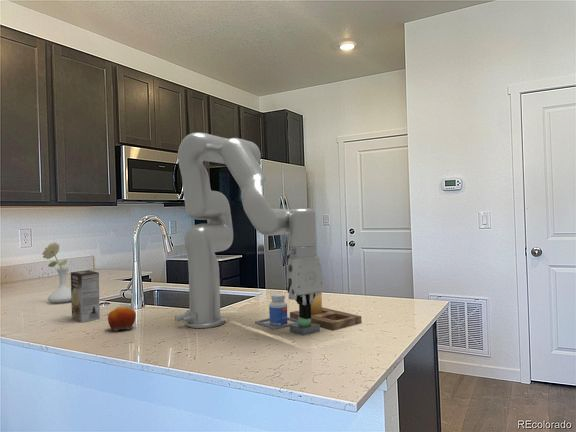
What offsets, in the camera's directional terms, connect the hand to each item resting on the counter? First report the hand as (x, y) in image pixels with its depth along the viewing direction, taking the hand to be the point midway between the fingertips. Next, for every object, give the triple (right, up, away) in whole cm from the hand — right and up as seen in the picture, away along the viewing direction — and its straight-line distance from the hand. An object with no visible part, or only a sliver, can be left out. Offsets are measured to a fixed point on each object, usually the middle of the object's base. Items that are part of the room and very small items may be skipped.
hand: (305, 318), depth 119 cm
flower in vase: (-99, -7, +58) cm, 115 cm away
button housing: (0, -5, 0) cm, 5 cm away
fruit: (-56, -7, +12) cm, 57 cm away
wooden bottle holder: (+6, -5, +11) cm, 14 cm away
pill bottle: (-8, -5, +10) cm, 13 cm away
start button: (0, -2, 0) cm, 2 cm away
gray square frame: (-8, -5, +10) cm, 13 cm away
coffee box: (-74, -7, +27) cm, 79 cm away
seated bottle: (+3, -4, +15) cm, 16 cm away
